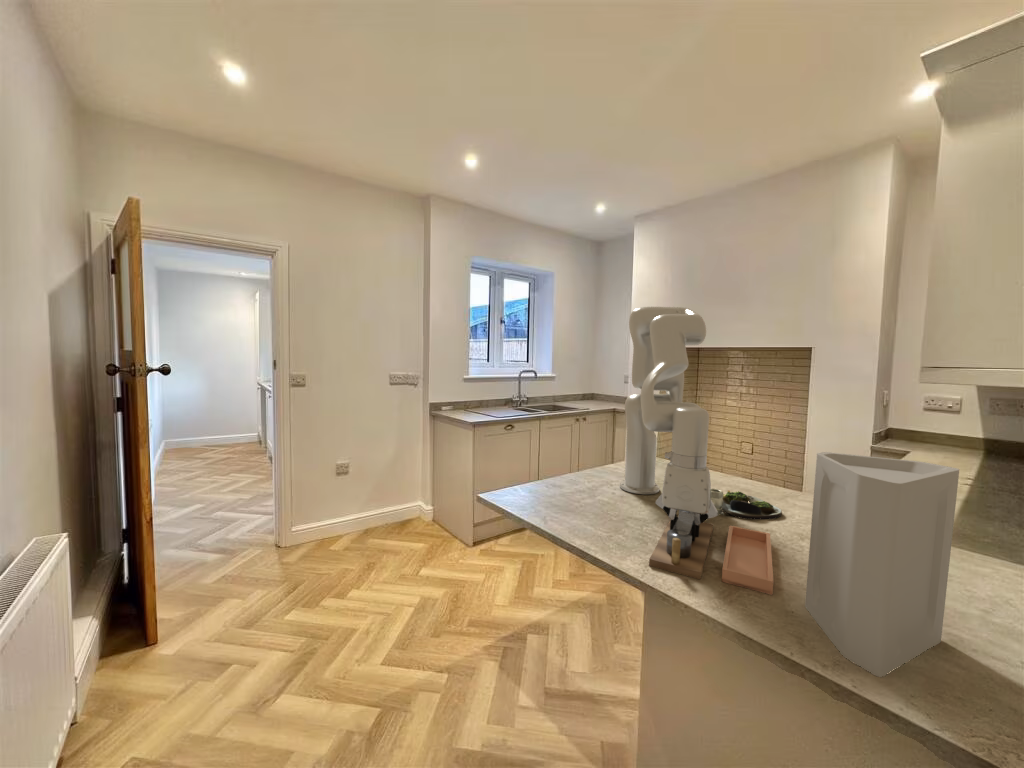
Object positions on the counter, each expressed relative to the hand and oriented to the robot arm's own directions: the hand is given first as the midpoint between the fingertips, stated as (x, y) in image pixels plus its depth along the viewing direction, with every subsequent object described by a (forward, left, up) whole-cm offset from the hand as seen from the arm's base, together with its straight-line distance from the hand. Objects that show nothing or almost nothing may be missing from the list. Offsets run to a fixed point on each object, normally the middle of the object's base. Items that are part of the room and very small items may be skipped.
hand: (684, 536), depth 98 cm
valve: (-23, +3, -3) cm, 23 cm away
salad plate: (-34, +12, -3) cm, 36 cm away
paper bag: (+16, +29, -2) cm, 34 cm away
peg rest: (0, 0, -2) cm, 2 cm away
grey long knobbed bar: (0, 0, 0) cm, 0 cm away
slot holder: (0, +13, -2) cm, 13 cm away
